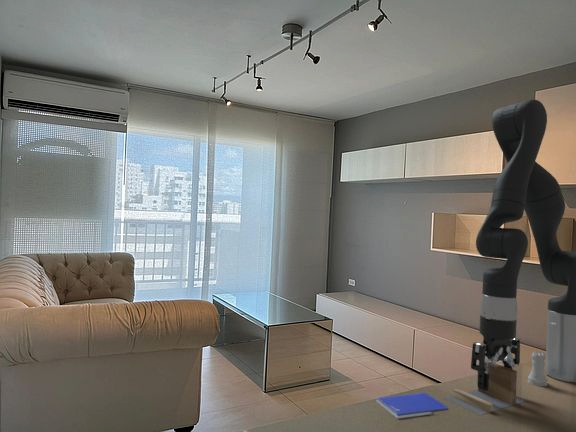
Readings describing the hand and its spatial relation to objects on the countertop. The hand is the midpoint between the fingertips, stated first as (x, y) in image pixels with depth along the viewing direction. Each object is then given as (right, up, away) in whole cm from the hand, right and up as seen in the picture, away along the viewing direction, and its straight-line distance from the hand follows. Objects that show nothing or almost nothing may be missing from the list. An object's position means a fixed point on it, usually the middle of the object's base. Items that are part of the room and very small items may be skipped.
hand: (494, 386), depth 99 cm
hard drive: (-21, -3, -6) cm, 22 cm away
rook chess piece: (+15, -4, +10) cm, 19 cm away
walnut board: (0, -2, 0) cm, 2 cm away
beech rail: (-7, -3, -4) cm, 9 cm away
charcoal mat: (-3, -3, -2) cm, 5 cm away
